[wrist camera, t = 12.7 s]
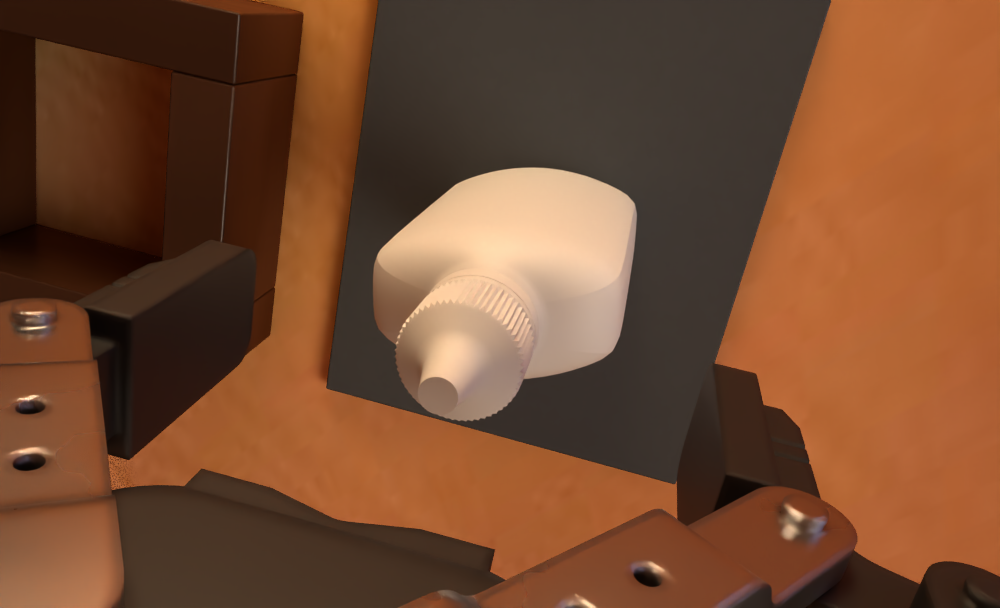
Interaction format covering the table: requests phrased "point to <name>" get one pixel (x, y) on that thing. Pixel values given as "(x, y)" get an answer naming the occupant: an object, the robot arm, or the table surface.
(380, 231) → the mat
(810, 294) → the table surface
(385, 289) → the eye dropper bottle
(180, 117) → the rack
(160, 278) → the robot arm
